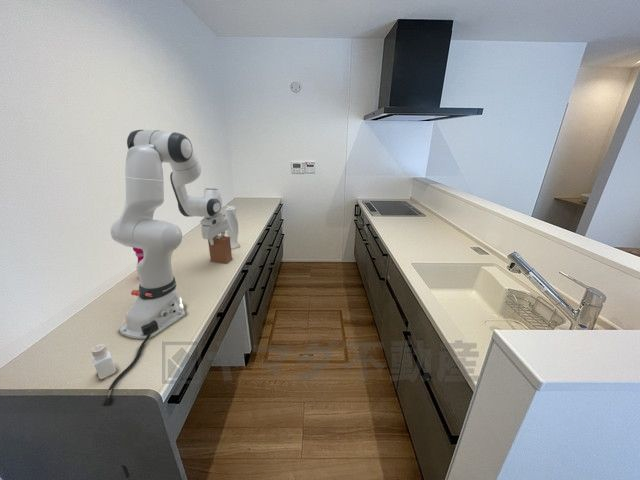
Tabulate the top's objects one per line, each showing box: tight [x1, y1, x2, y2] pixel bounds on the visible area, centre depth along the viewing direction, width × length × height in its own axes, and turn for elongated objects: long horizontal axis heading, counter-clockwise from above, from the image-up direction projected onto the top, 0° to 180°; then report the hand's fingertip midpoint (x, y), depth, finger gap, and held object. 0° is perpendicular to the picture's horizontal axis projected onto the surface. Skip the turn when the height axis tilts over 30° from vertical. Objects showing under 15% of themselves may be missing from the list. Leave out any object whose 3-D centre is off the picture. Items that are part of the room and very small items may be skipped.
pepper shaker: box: [90, 343, 117, 380], centre depth 77 cm, size 4×4×10 cm
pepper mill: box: [132, 247, 144, 271], centre depth 128 cm, size 7×7×20 cm
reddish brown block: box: [207, 234, 233, 264], centre depth 149 cm, size 6×15×10 cm
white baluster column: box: [222, 205, 241, 250], centre depth 166 cm, size 8×8×28 cm
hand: (217, 241), depth 147 cm, fingers open, 8 cm apart
